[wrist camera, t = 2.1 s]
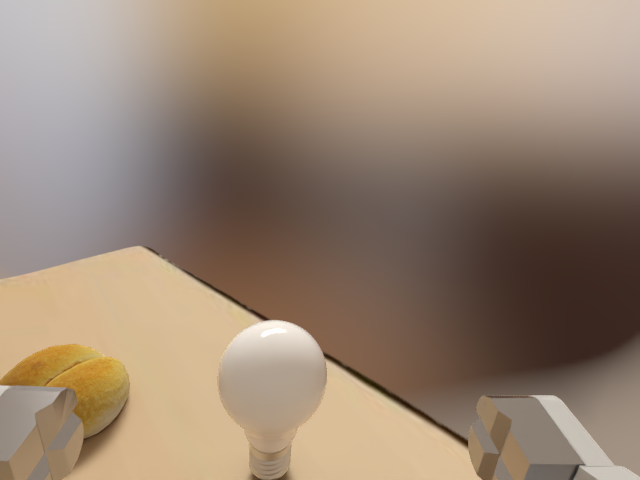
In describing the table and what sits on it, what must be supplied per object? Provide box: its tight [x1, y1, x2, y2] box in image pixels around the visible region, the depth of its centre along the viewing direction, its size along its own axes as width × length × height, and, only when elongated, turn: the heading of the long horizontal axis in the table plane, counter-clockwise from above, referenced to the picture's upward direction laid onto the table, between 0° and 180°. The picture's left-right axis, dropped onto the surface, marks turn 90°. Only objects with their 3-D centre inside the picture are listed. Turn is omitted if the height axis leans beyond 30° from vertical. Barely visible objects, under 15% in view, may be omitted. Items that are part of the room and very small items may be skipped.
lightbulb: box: [217, 320, 327, 480], centre depth 24 cm, size 6×6×11 cm
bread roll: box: [0, 344, 130, 439], centre depth 29 cm, size 8×9×4 cm
